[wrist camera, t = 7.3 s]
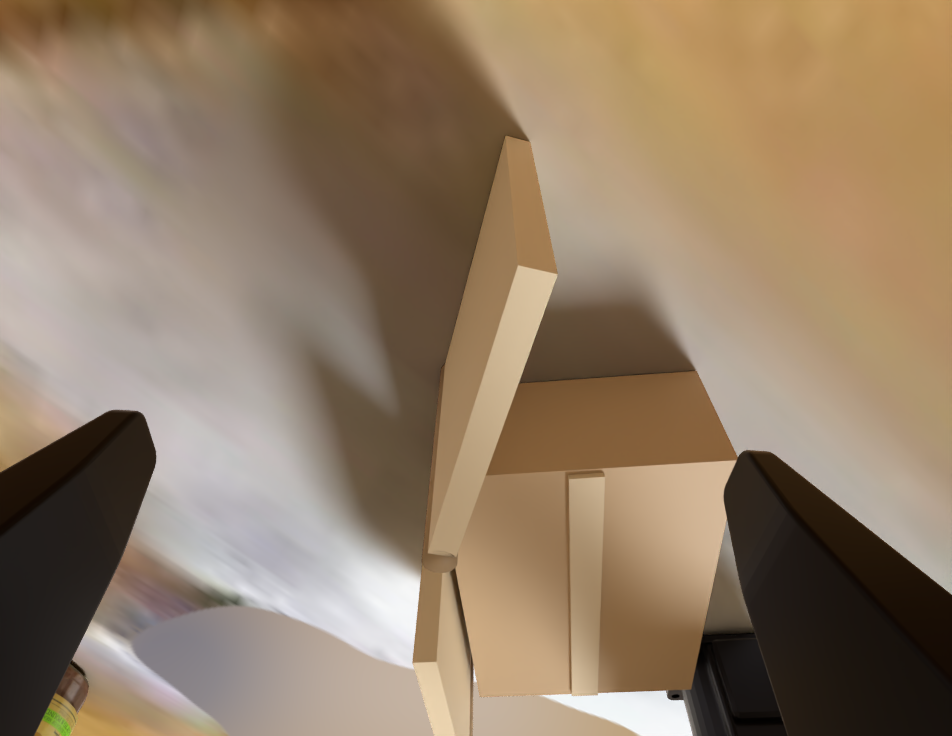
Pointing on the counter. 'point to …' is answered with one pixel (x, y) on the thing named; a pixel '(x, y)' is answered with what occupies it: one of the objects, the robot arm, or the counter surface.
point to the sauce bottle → (65, 705)
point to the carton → (596, 537)
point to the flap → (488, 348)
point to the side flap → (444, 655)
